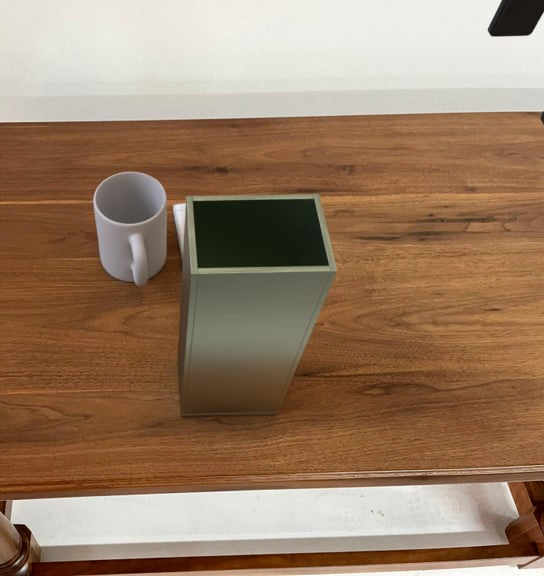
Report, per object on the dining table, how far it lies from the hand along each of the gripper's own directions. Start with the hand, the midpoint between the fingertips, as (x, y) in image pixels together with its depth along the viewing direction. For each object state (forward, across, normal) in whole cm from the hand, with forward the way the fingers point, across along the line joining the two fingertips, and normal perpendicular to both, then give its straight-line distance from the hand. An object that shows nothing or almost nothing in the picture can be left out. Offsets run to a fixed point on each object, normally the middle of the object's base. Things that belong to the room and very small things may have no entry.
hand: (533, 75), depth 42 cm
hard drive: (+36, +14, +19) cm, 42 cm away
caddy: (+35, -6, +19) cm, 41 cm away
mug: (+36, +10, +29) cm, 47 cm away
